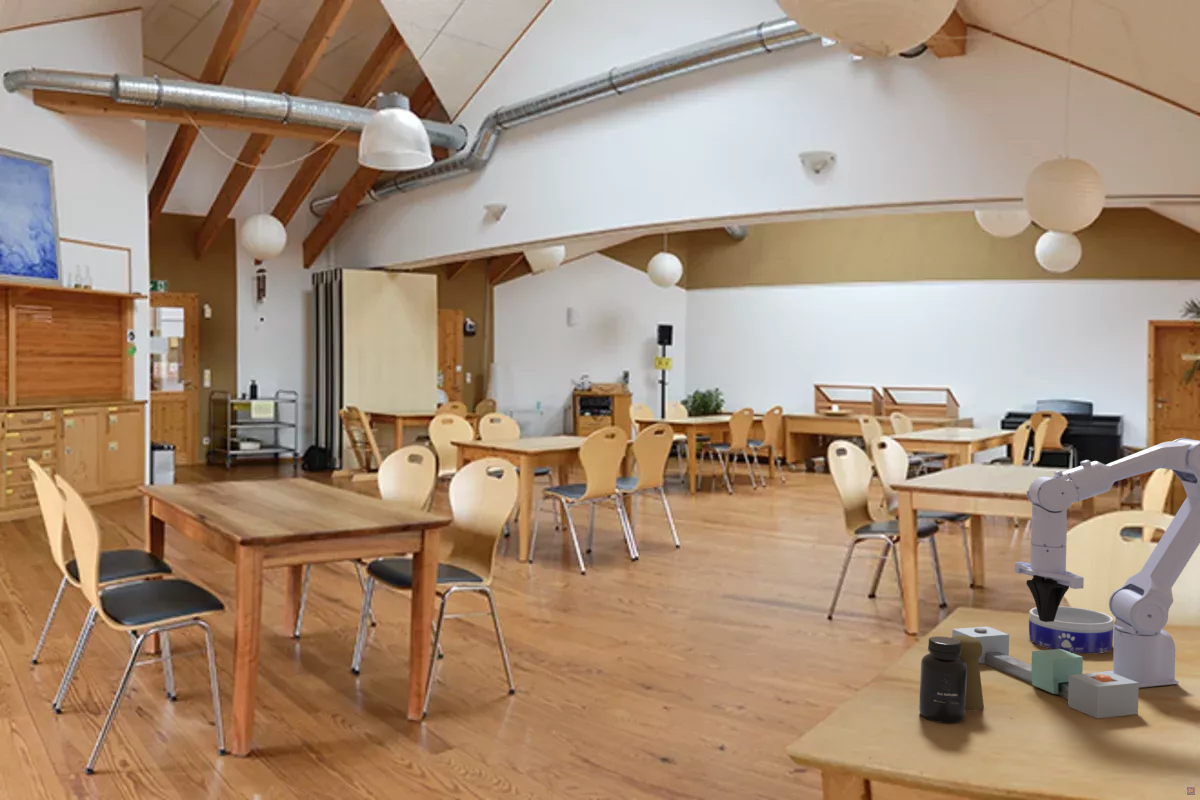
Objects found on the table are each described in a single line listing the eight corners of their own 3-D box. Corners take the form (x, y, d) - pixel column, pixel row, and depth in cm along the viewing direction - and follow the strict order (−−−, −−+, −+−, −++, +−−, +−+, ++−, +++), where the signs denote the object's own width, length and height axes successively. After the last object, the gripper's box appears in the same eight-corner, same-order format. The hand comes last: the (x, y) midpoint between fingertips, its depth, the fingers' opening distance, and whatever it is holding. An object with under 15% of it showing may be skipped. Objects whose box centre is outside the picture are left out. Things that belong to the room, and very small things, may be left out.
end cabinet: (1107, 701, 158) (1108, 671, 157) (1137, 714, 152) (1138, 682, 152) (1068, 705, 155) (1068, 675, 155) (1096, 718, 149) (1097, 686, 149)
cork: (987, 712, 152) (988, 643, 152) (947, 708, 153) (948, 640, 153) (980, 699, 158) (981, 633, 158) (941, 696, 159) (942, 630, 159)
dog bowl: (1034, 650, 188) (1034, 619, 188) (1023, 631, 203) (1024, 602, 203) (1120, 658, 184) (1121, 626, 184) (1103, 637, 198) (1104, 608, 198)
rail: (999, 662, 179) (999, 651, 179) (1090, 700, 158) (1091, 688, 158) (985, 663, 178) (985, 653, 178) (1075, 702, 157) (1076, 690, 157)
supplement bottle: (943, 727, 145) (945, 648, 145) (909, 712, 151) (911, 637, 151) (975, 720, 148) (977, 642, 148) (941, 706, 154) (942, 632, 154)
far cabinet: (987, 652, 186) (987, 624, 186) (1008, 660, 180) (1009, 632, 180) (951, 655, 183) (952, 626, 183) (972, 664, 178) (973, 635, 178)
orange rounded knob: (1102, 698, 155) (1103, 673, 155) (1113, 702, 153) (1114, 678, 153) (1091, 699, 154) (1092, 674, 154) (1102, 704, 152) (1103, 679, 152)
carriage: (1059, 682, 166) (1060, 648, 166) (1082, 691, 162) (1082, 656, 161) (1031, 684, 165) (1031, 651, 164) (1052, 694, 160) (1053, 659, 160)
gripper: (1001, 538, 176) (1000, 612, 176) (1060, 552, 162) (1058, 632, 163) (1033, 537, 178) (1031, 610, 179) (1094, 551, 164) (1092, 630, 165)
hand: (1046, 620), depth 171 cm, fingers closed
